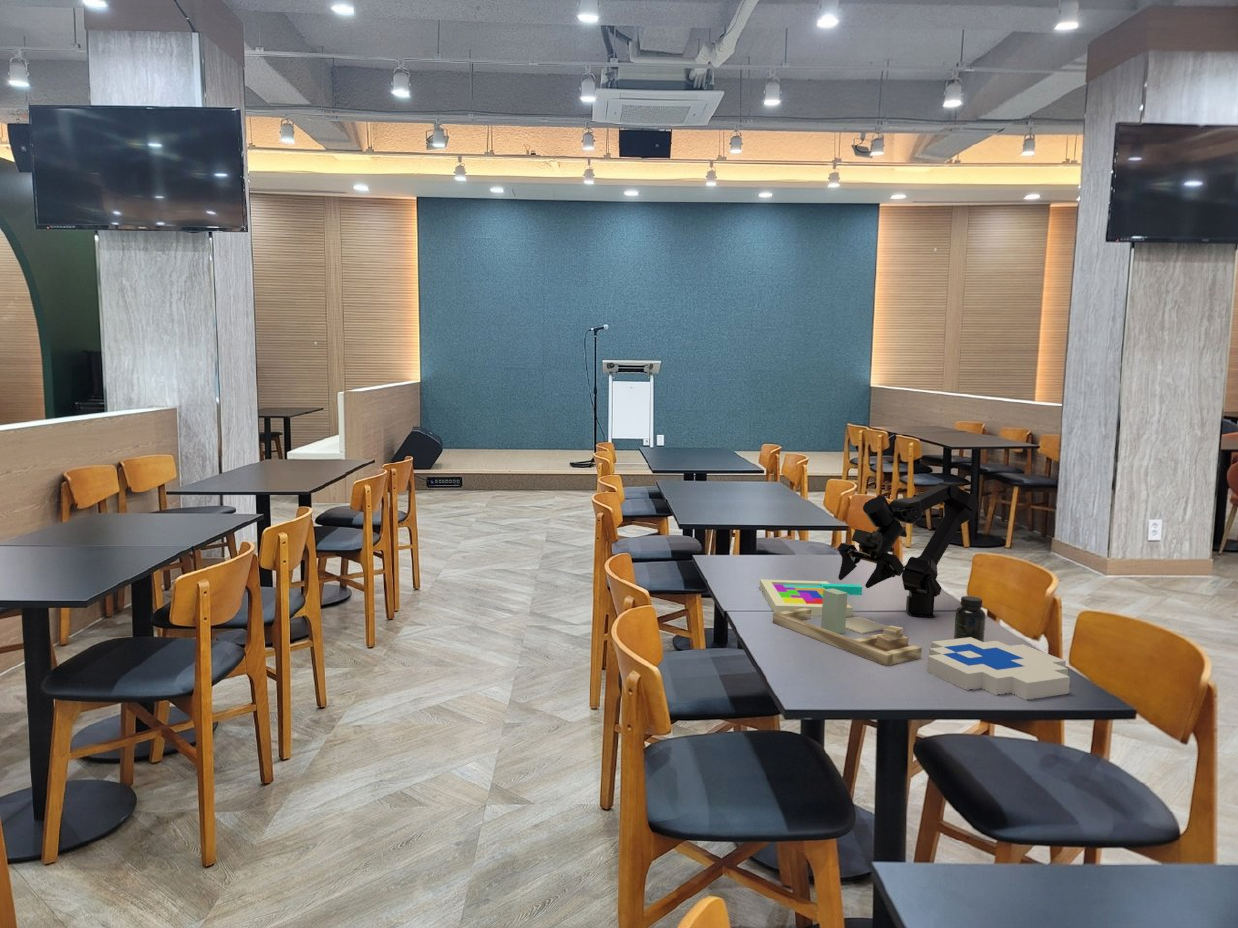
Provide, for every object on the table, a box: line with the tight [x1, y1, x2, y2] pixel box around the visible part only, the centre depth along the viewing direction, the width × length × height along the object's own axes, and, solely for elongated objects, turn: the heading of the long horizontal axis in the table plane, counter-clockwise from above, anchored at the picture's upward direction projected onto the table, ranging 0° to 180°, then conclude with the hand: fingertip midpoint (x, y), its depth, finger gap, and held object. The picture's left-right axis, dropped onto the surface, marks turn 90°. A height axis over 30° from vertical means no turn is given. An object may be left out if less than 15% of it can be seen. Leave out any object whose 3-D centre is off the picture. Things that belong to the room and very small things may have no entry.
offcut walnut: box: [874, 643, 911, 651], centre depth 202 cm, size 7×5×2 cm
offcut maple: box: [882, 625, 904, 640], centre depth 201 cm, size 4×3×2 cm
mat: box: [845, 615, 890, 635], centre depth 223 cm, size 11×11×1 cm
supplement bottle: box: [953, 595, 987, 642], centre depth 208 cm, size 7×7×12 cm
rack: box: [772, 608, 922, 667], centre depth 211 cm, size 12×38×2 cm, turn 32°
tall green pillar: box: [820, 588, 848, 635], centre depth 218 cm, size 4×5×10 cm
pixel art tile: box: [926, 637, 1071, 700], centre depth 189 cm, size 28×4×28 cm
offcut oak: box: [876, 634, 909, 649], centre depth 202 cm, size 6×4×2 cm, turn 112°
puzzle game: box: [759, 578, 863, 618], centre depth 247 cm, size 30×3×30 cm
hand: (852, 583), depth 220 cm, fingers open, 9 cm apart
